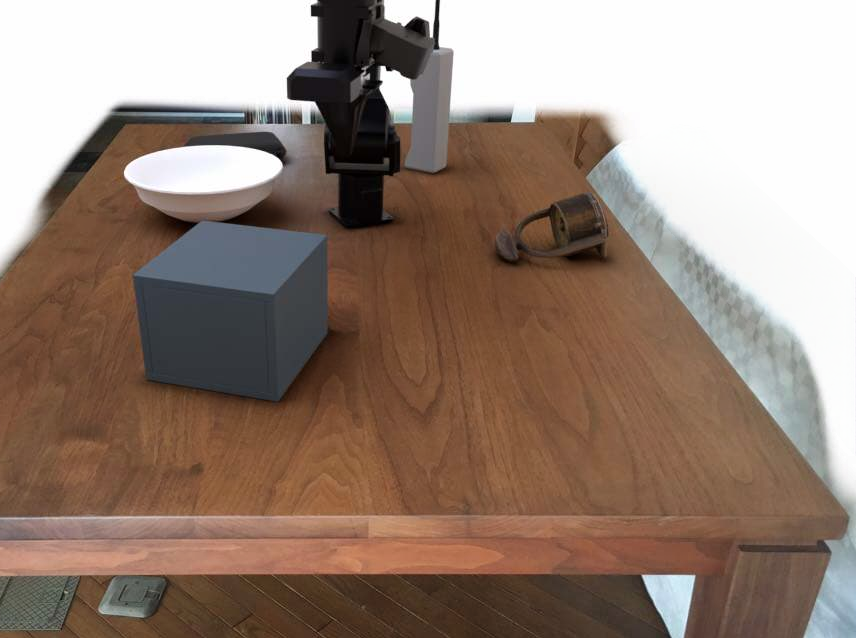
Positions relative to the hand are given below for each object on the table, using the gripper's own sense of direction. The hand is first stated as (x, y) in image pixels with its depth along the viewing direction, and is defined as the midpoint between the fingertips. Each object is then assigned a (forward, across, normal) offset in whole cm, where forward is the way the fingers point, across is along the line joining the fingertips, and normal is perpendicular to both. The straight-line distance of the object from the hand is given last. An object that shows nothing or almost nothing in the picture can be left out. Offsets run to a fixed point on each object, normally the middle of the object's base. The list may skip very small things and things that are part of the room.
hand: (345, 154), depth 94 cm
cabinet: (+13, -22, +3) cm, 26 cm away
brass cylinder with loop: (+13, +12, -21) cm, 28 cm away
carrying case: (+13, +35, +28) cm, 47 cm away
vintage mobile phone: (+13, +40, 0) cm, 42 cm away
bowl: (+13, +12, +22) cm, 28 cm away
